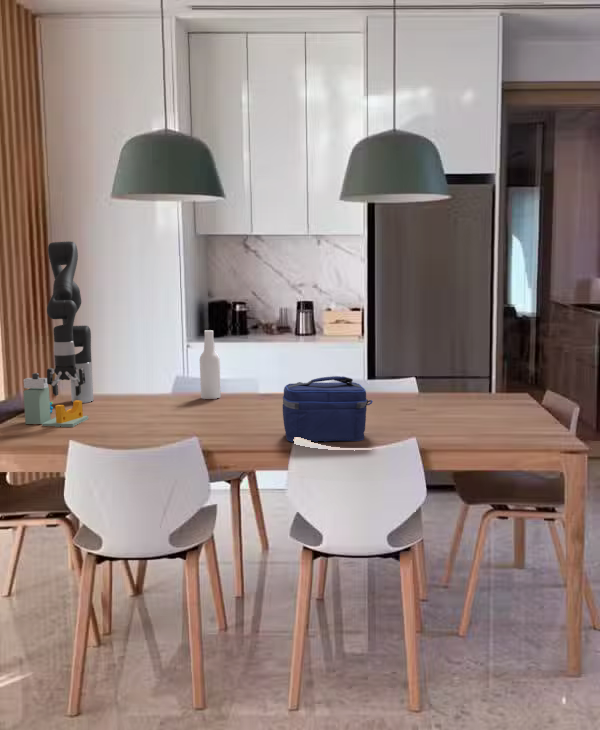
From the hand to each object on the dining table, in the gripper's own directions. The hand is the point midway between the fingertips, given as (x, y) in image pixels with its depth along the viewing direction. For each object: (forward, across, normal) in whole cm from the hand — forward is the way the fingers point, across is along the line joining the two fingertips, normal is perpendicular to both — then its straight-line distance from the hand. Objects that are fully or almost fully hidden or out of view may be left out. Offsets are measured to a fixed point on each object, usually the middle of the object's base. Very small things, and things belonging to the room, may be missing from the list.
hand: (67, 395), depth 304 cm
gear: (+11, +18, -17) cm, 27 cm away
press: (+11, +5, 0) cm, 12 cm away
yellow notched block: (+10, 0, 0) cm, 10 cm away
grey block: (-3, +12, 0) cm, 12 cm away
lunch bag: (+10, -100, +17) cm, 102 cm away
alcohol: (+12, -43, -54) cm, 70 cm away
